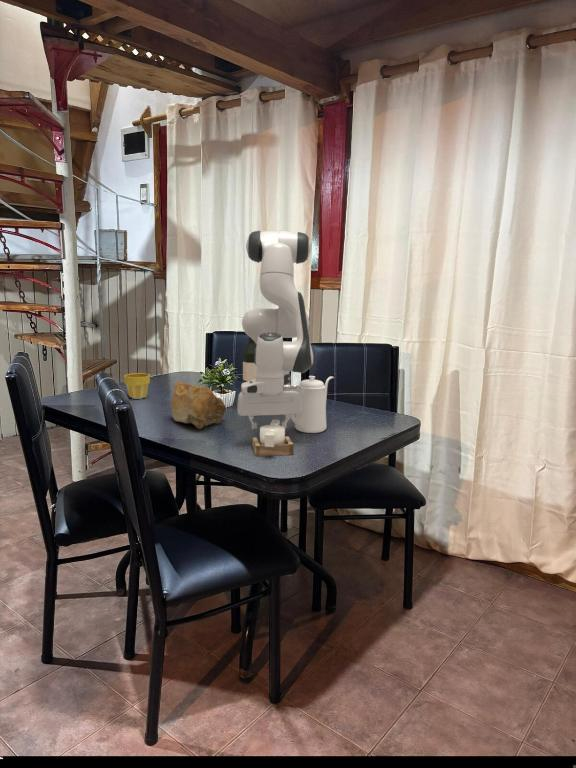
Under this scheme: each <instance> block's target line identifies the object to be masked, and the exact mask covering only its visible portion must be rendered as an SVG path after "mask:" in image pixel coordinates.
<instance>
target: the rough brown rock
mask: <svg viewBox="0 0 576 768" xmlns="http://www.w3.org/2000/svg"><path fill="white" fill-rule="evenodd" d="M226 408H227V407H226V405H225V403H224V401H223V399H222V398H220V397H217V396H216V395H215V394H214V392H213V390H212V389H211V388H209V387H208V386H203V387H202V386H199V385H191V384H189V383H188V382H187V383H186V382H183V381H176V382H175V384H174V388H173V396H172V398H171V413H172V415H171V416H172V418H173V420H174V421H175V422H177V423H183V424H192V425H193V426H195V428H197V429H198V430H200V429H203V428H204V427H206V426H209V425H212V424H217V425H218V424H221V423H222V421H223V418H224V417H223V416H224V415H225V412H226V410H227V409H226Z"/></svg>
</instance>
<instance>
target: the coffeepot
mask: <svg viewBox="0 0 576 768" xmlns="http://www.w3.org/2000/svg"><path fill="white" fill-rule="evenodd" d="M334 378H335V377H334V376H331V375H330V376H329V377H328V378H327V379H326V380H325V383H324V382H323V381H322V380H319V379H316V376H314V375H309V376H308V379H303V380H301V381H300V382H299V384H297V385H298V386H299V387H301V389H302V397H301V398H300V399H301V409H302V410H301V412H300V414H291V415H290V420H291V421H292V422H293V423H294V428H295V429H296V431H298V432H302V433H305V434H318V433H322V432H324V431H326V430H327V409H326V408H327V395H328V385H329V381H330V380H331V379H334Z"/></svg>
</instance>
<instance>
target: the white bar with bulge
mask: <svg viewBox="0 0 576 768" xmlns="http://www.w3.org/2000/svg"><path fill="white" fill-rule="evenodd" d="M280 424H281V421H280V419H272V420H271V422H270V424H265V425H262V426H259V444H260V445H265V447H274V445H277V444H285V435H286V428H284V427H283V426H281V425H280Z"/></svg>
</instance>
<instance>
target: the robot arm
mask: <svg viewBox="0 0 576 768" xmlns="http://www.w3.org/2000/svg"><path fill="white" fill-rule="evenodd" d="M245 248H246V250H245V251H246V254H247V256H248V258H249V259H250V260H251V262H255V263H258V264H259V263H260V262H261V263H260V273H259V287H260V292H261V295H262V296H263V297H264V298H265V300H267V301H268V302H269V303H271V304H273V305H275V306H277V307H278V308H256V309H251V310H247V311H246V312H245V313H244V315H243V317H242V320H241V326H242V329H243V331H244V333H245V334H246V335H247V337H251V338H252V339H253V340H254V342H255V343H256V344H257V347H256V348H255V350H254V363H255V365H256V366H257V372H256V379H254V380H251V381H248V382H245V383H243V382H242V383H241V385H240V388H241V391H240V392H239V394H238V397H237V398H238V399H237V403H236V404H237V406H236V411H237V415H238V416H240V417H248V419H249V421H250V423H251V429H252V430H257V429H258V423H257V422H254V420H253V419H254V417H255V416H256V417H257V416H281V415H282V416H284V418H285V419H284V420H283V421H280V424H281V425H280V426H283V427H284V428H285V429H287V427H288V426H287V425H288V422H289V421H290V420H291V418H290V415H291V414H294V415H296V414H300V412H301V410H302V409H301V399H300V398H301V397H302V389H301V387H299V386H298V385H299V384H293V385H292V384H291V381H292V379H291V373H290V372H293V373H297V374H298V373H299V374H304V373H305V372H307V371H308V370H310V369H311V368H312V367H313V364H314V352H313V347H312V345H311V342H310V341H311V340H310V334H309V332H310V331H309V329H310V322H311V320H310V318H309V315H308V314H307V312H306V311H307V310H306V306H305V305H306V304H305V301H304V296H303V294H302V293H301V292H300V291H298V290H297V288H296V286H295V281H294V279H295V277H294V275H295V272H294V271H295V270H294V268H295V267H294V264H297V265H298V264H303V263H305V262H306V261H308V258H309V257H310V254H311V249H312V245H311V241H310V237H309V236H308V234H306V233H304V232H302V231H298V232H295V231H289V230H264V231H261V230H256V231H251V232H250V234H249V235H248V238H247V240H246V245H245ZM284 338H285V339H288V338H289V339H293V338H297V339H296V340H295V341H286V340H285V341H284V340H283V339H284Z"/></svg>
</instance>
